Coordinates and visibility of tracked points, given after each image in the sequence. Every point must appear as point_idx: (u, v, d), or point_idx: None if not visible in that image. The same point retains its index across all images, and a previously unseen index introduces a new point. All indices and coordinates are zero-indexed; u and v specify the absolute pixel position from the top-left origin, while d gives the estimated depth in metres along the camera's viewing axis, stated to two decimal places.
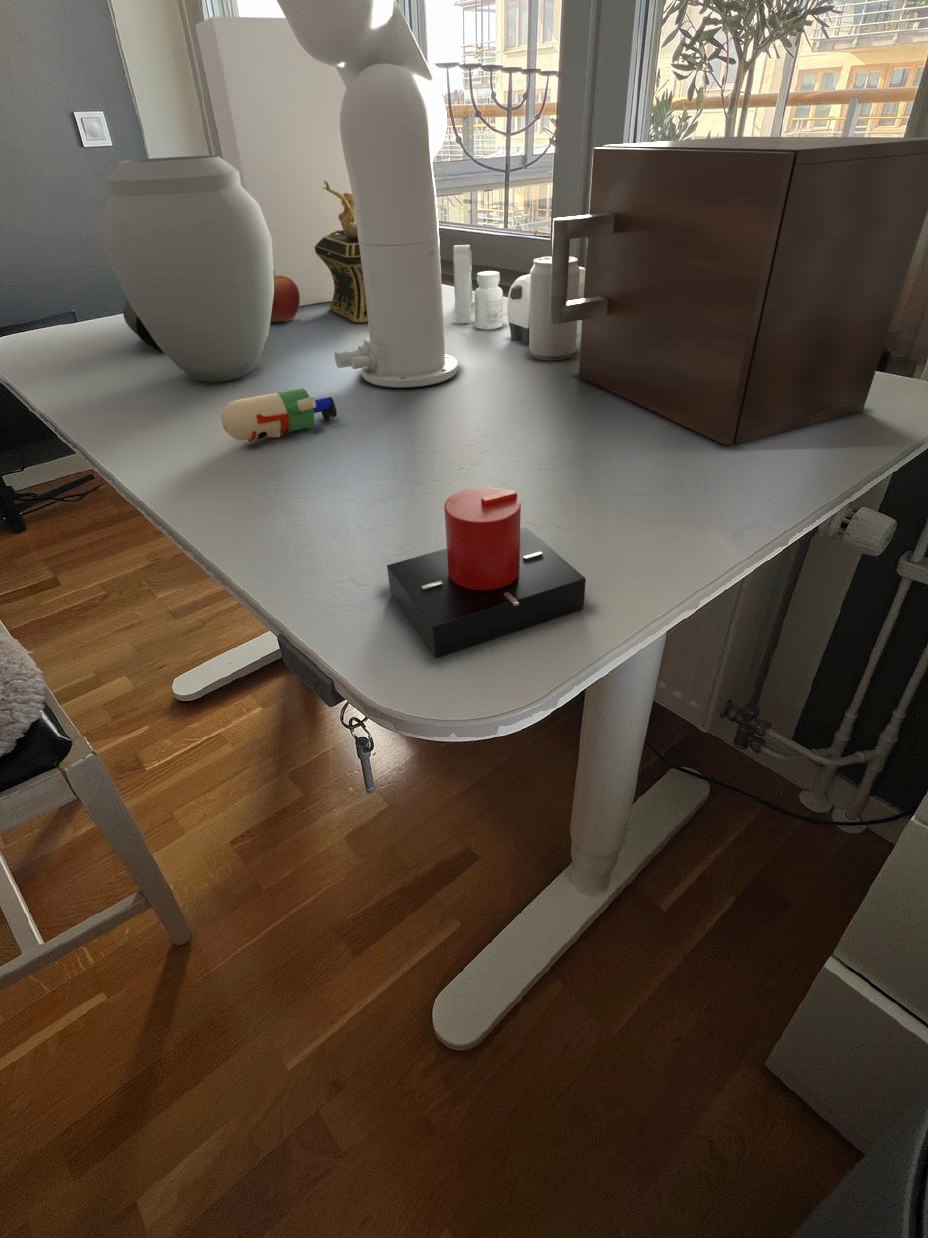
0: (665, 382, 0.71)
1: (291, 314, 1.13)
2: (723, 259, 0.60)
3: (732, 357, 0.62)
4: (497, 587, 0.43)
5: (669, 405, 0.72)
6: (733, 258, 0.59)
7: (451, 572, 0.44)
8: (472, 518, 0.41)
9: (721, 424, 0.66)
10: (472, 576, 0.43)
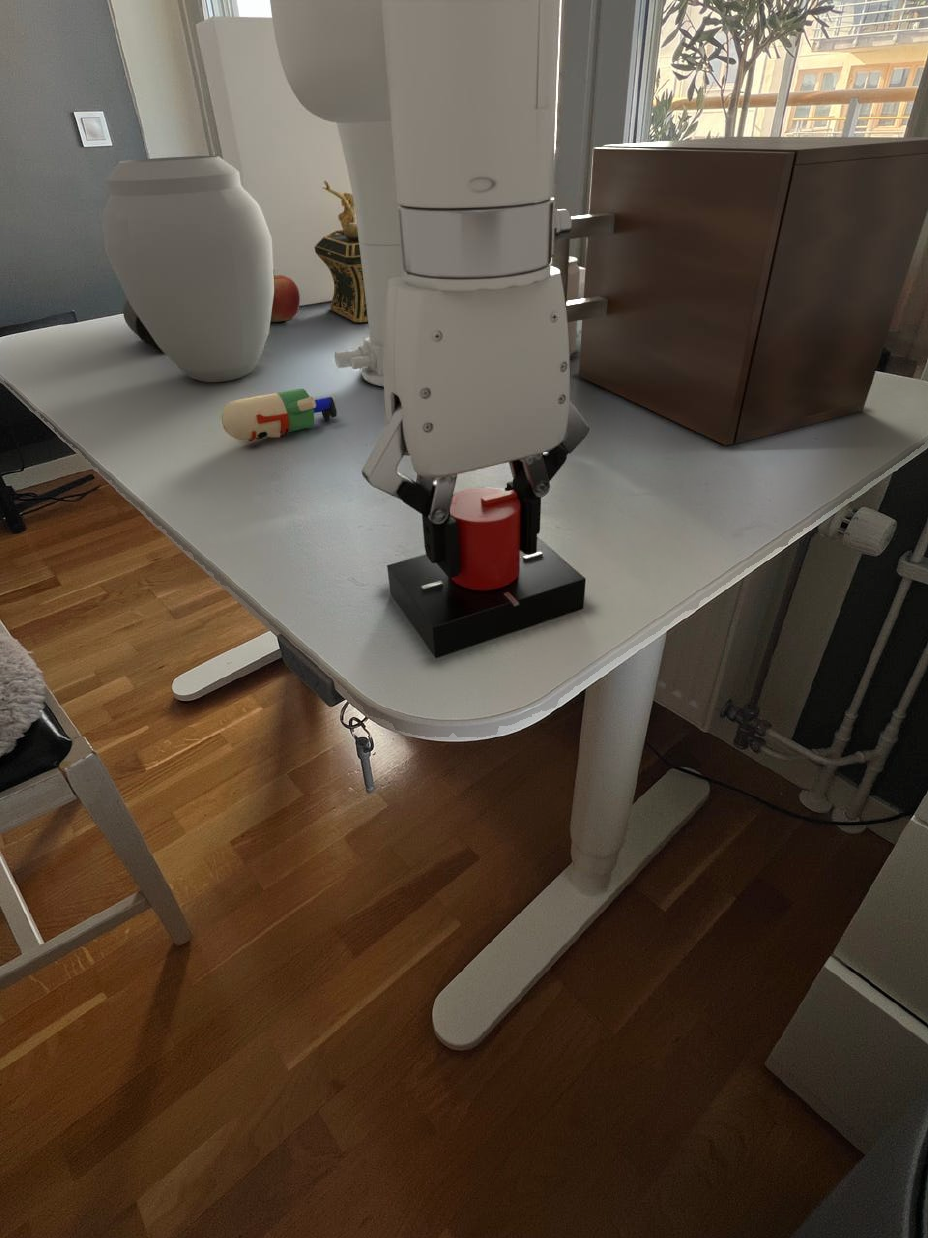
0: (665, 382, 0.71)
1: (291, 314, 1.13)
2: (723, 259, 0.60)
3: (732, 357, 0.62)
4: (497, 587, 0.43)
5: (669, 405, 0.72)
6: (733, 258, 0.59)
7: None
8: (472, 518, 0.41)
9: (721, 424, 0.66)
10: (472, 576, 0.43)
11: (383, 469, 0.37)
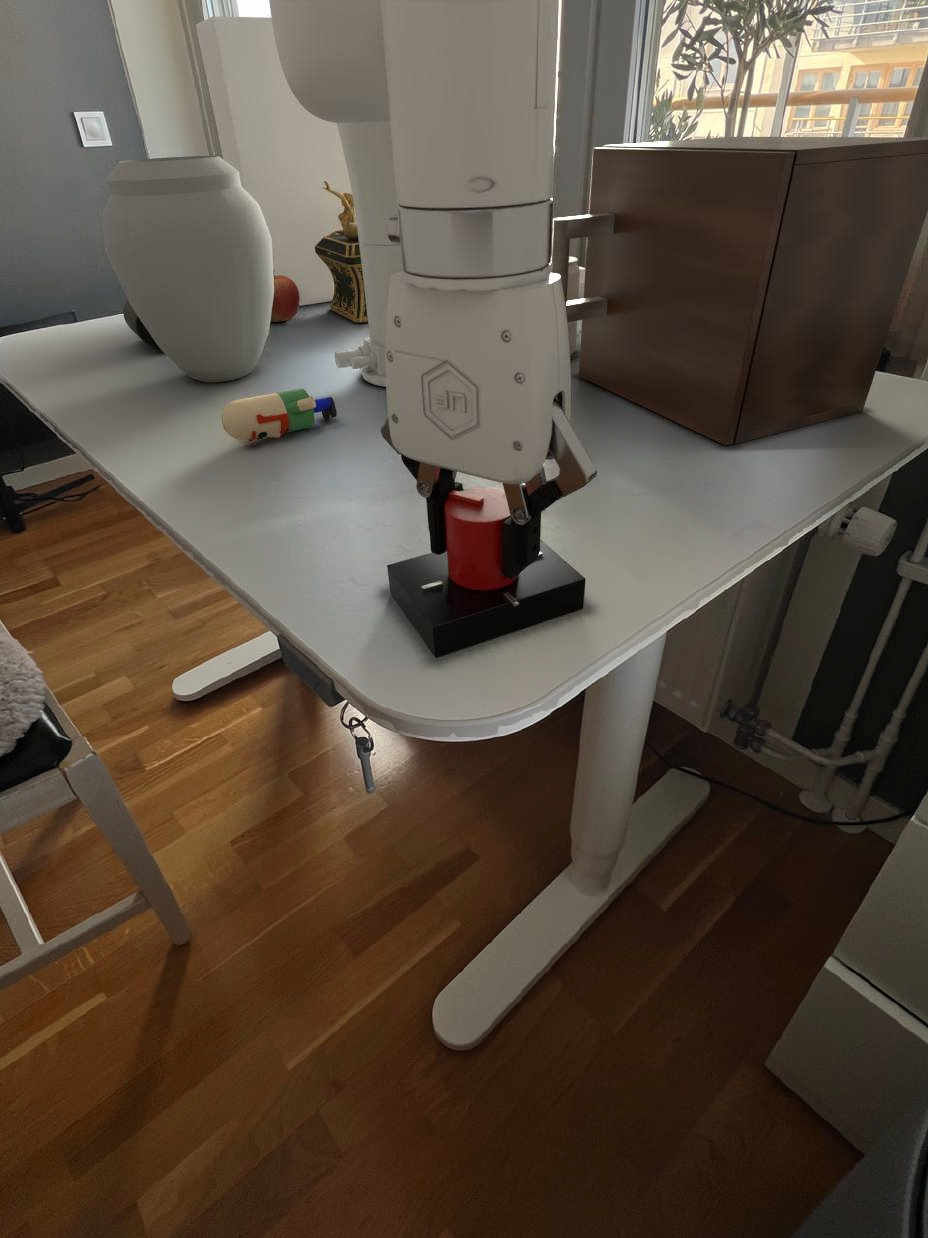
0: (665, 382, 0.71)
1: (291, 314, 1.13)
2: (723, 259, 0.60)
3: (732, 357, 0.62)
4: None
5: (669, 405, 0.72)
6: (733, 258, 0.59)
7: None
8: None
9: (721, 424, 0.66)
10: None
11: None
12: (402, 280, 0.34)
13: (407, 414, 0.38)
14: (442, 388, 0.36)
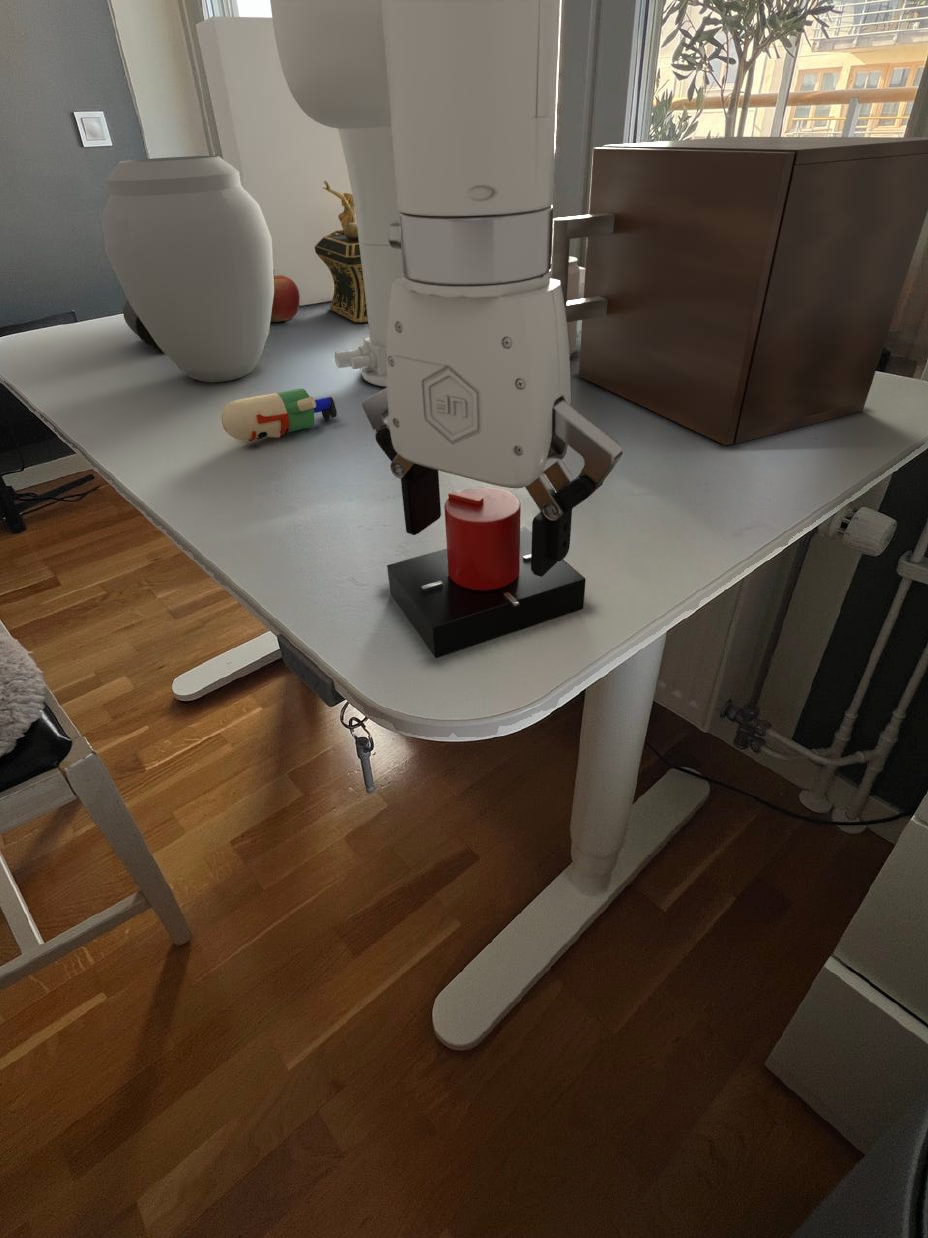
0: (665, 382, 0.71)
1: (291, 314, 1.13)
2: (723, 259, 0.60)
3: (732, 357, 0.62)
4: None
5: (669, 405, 0.72)
6: (733, 258, 0.59)
7: (516, 570, 0.44)
8: (511, 499, 0.42)
9: (721, 424, 0.66)
10: None
11: None
12: (403, 286, 0.34)
13: (408, 418, 0.38)
14: (443, 393, 0.36)
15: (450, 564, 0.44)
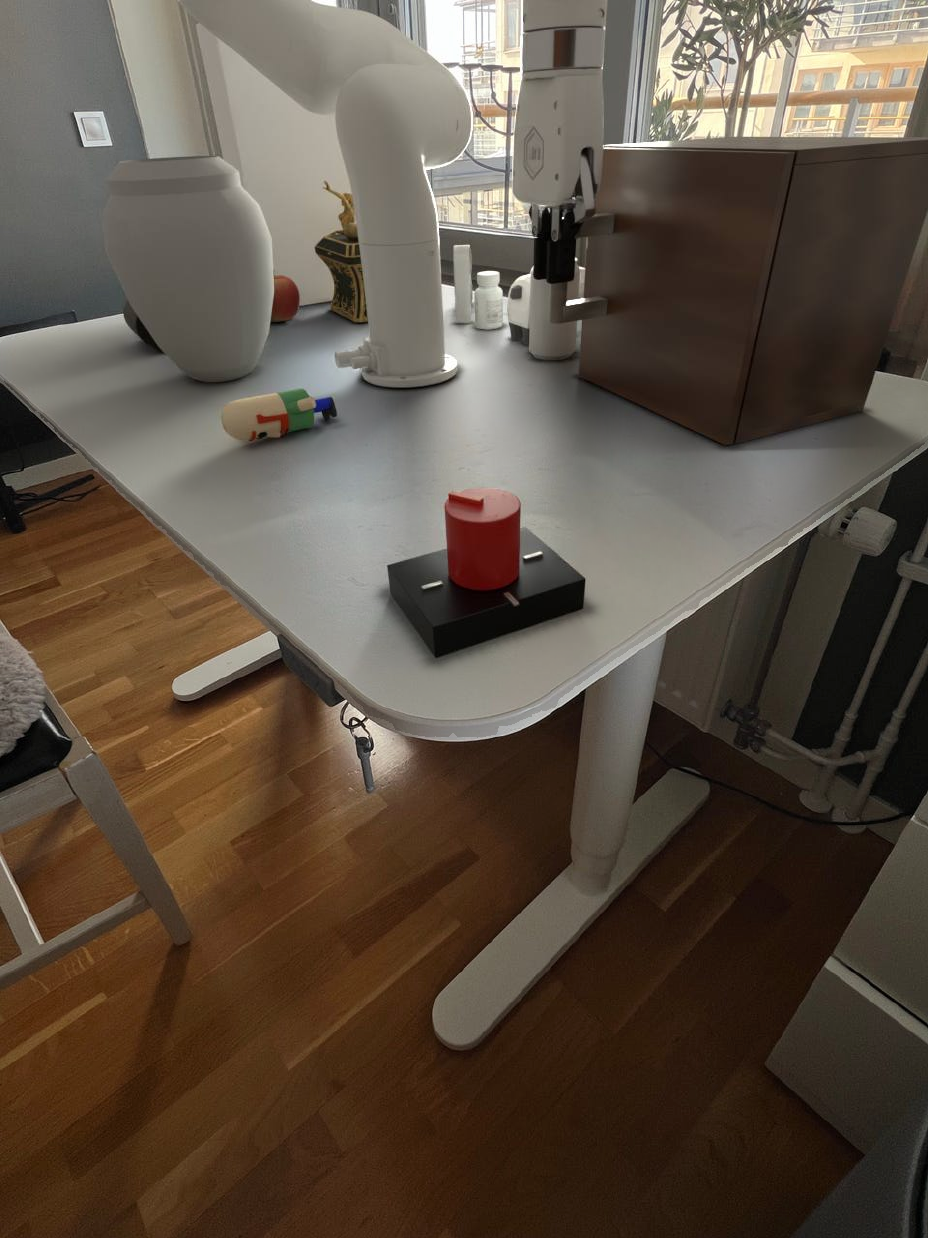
0: (665, 382, 0.71)
1: (291, 314, 1.13)
2: (723, 259, 0.60)
3: (732, 357, 0.62)
4: None
5: (669, 405, 0.72)
6: (733, 258, 0.59)
7: (516, 570, 0.44)
8: (511, 499, 0.42)
9: (721, 424, 0.66)
10: None
11: None
12: (523, 80, 0.64)
13: (518, 168, 0.68)
14: (531, 145, 0.65)
15: (450, 564, 0.44)
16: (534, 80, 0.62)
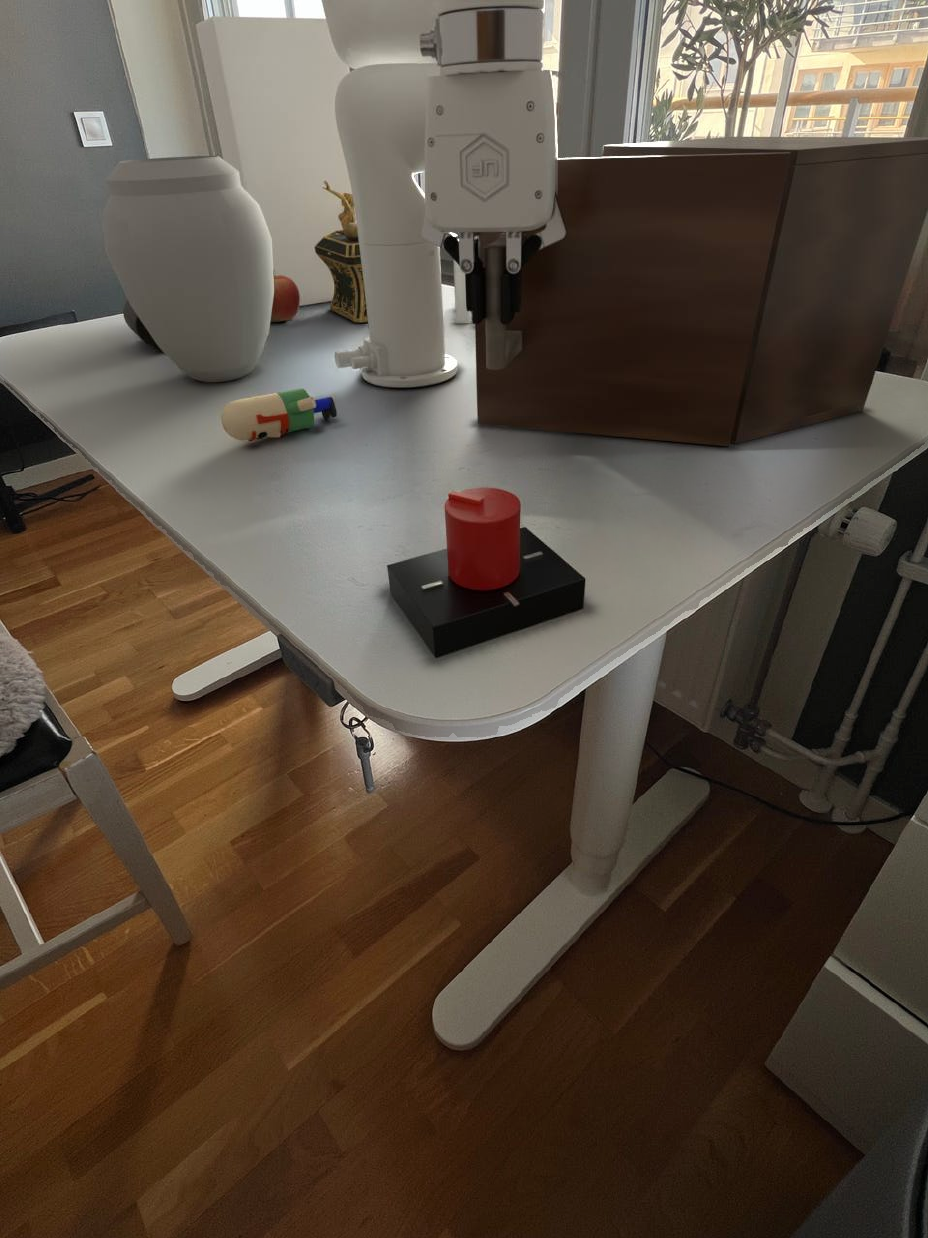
0: (631, 403, 0.66)
1: (291, 314, 1.13)
2: (709, 266, 0.58)
3: (731, 360, 0.61)
4: None
5: (640, 425, 0.67)
6: (724, 263, 0.57)
7: (516, 570, 0.44)
8: (511, 499, 0.42)
9: (721, 427, 0.65)
10: None
11: None
12: (444, 75, 0.48)
13: (445, 189, 0.52)
14: (478, 159, 0.50)
15: (450, 564, 0.44)
16: (478, 74, 0.47)
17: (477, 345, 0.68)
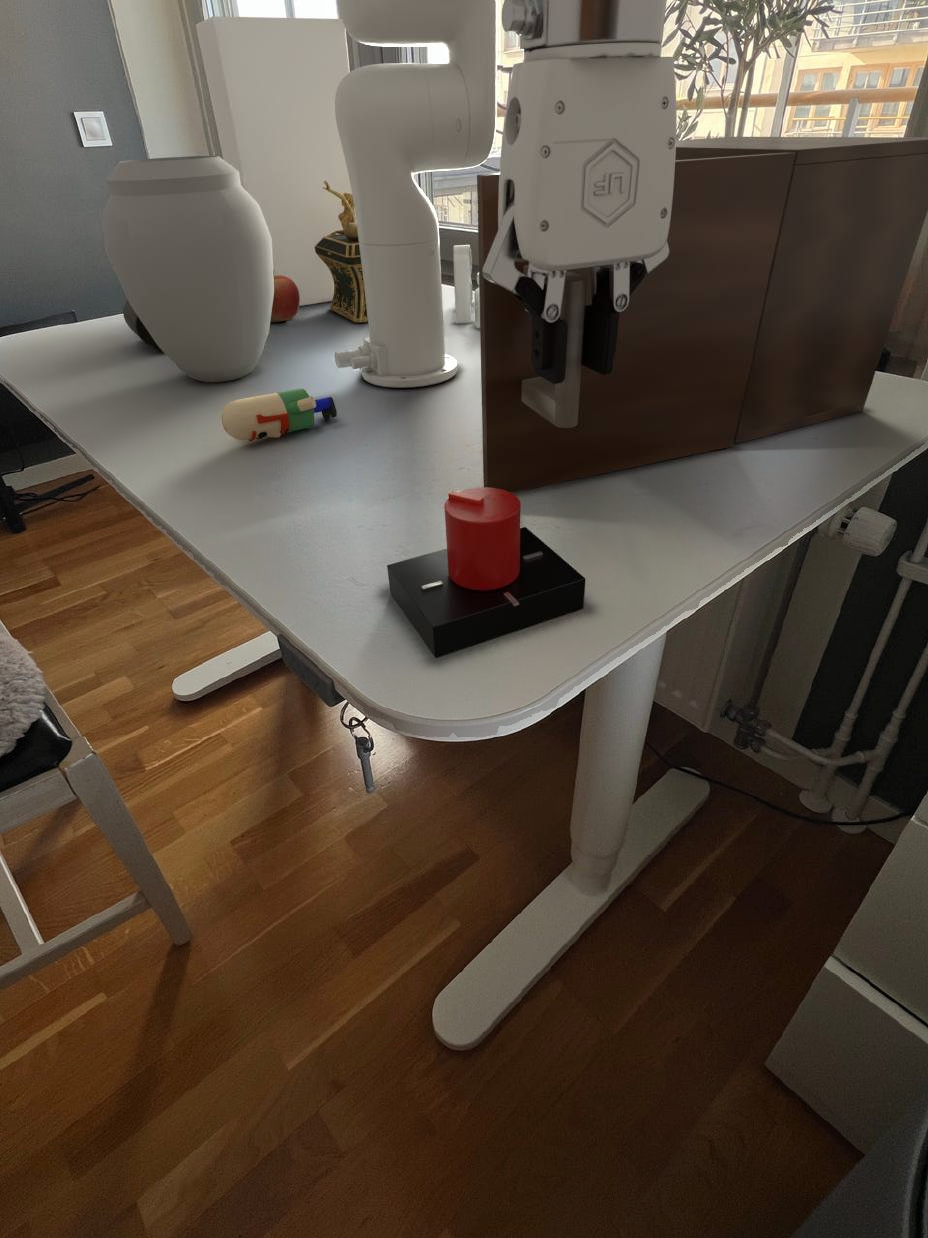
0: (651, 428, 0.61)
1: (291, 314, 1.13)
2: (725, 273, 0.55)
3: (739, 363, 0.61)
4: None
5: (658, 448, 0.63)
6: (738, 268, 0.55)
7: (516, 570, 0.44)
8: (511, 499, 0.42)
9: (727, 430, 0.64)
10: None
11: None
12: (566, 58, 0.34)
13: (561, 215, 0.38)
14: (602, 172, 0.38)
15: (450, 564, 0.44)
16: (611, 59, 0.35)
17: (488, 404, 0.54)
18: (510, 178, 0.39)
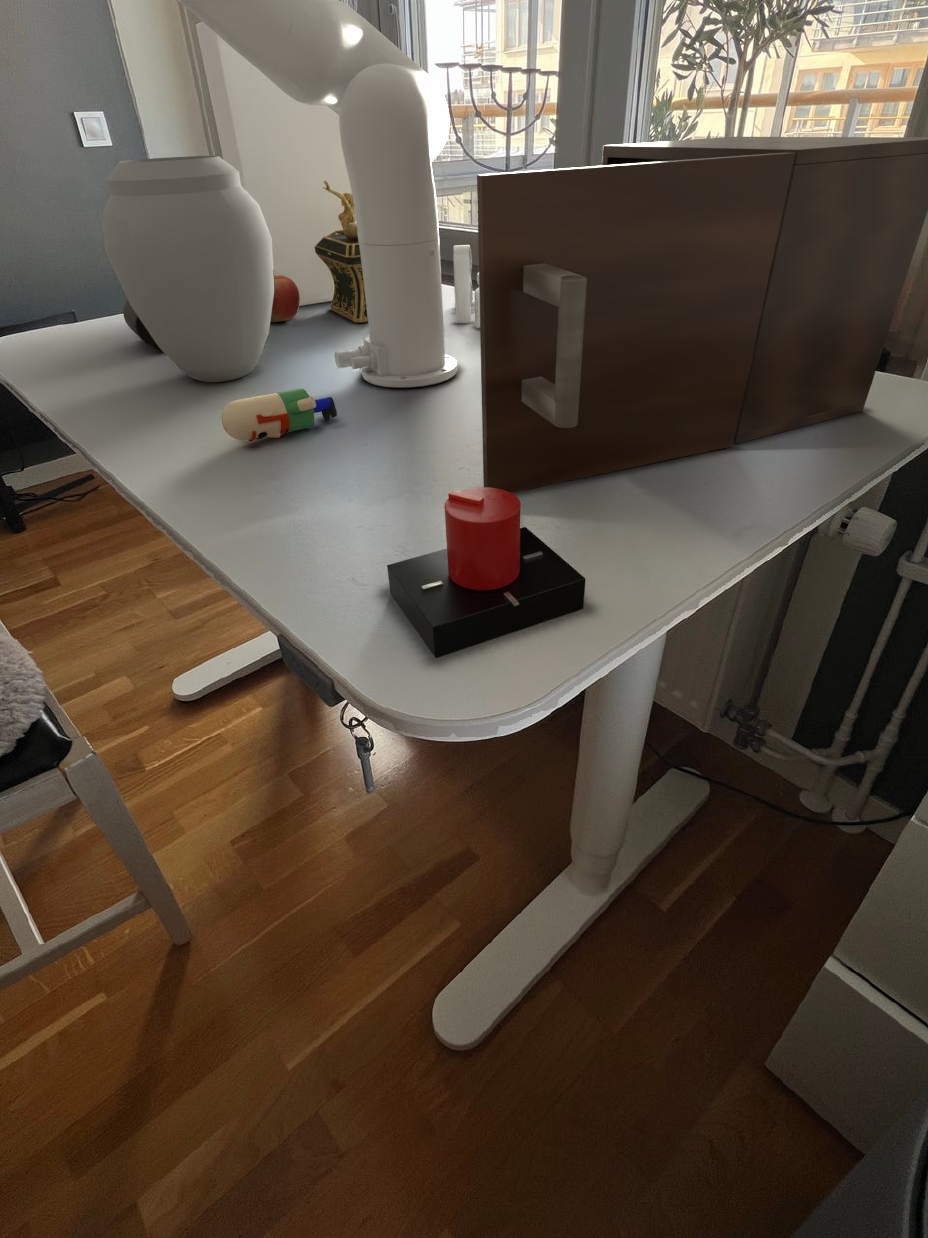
0: (651, 428, 0.61)
1: (291, 314, 1.13)
2: (725, 273, 0.55)
3: (739, 363, 0.61)
4: None
5: (658, 448, 0.63)
6: (738, 268, 0.55)
7: (516, 570, 0.44)
8: (511, 499, 0.42)
9: (727, 430, 0.64)
10: None
11: None
12: None
13: None
14: None
15: (450, 564, 0.44)
16: None
17: (488, 404, 0.54)
18: None
